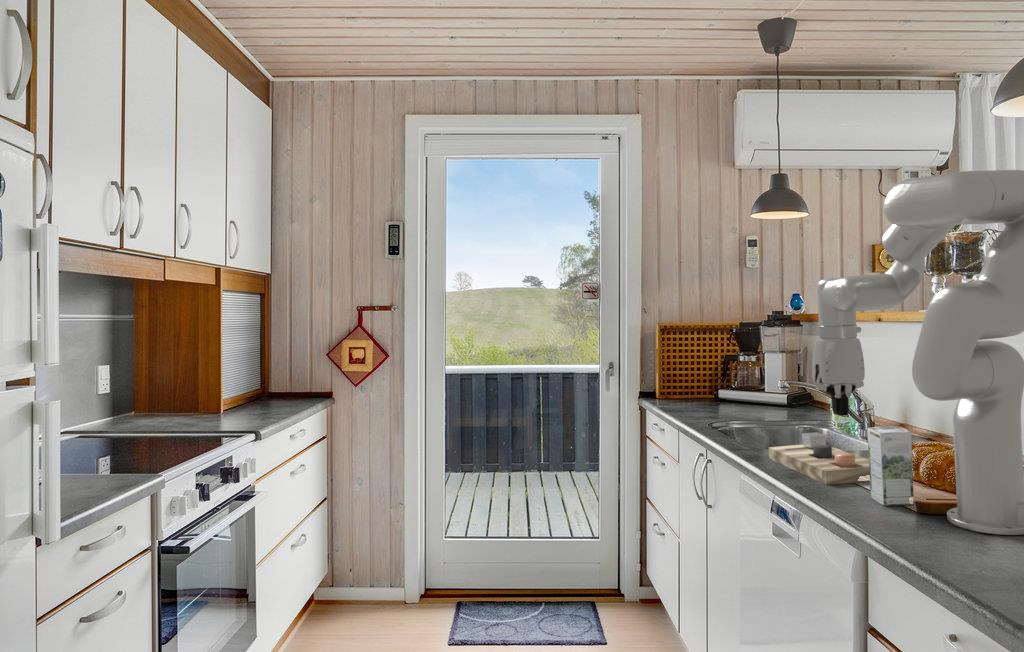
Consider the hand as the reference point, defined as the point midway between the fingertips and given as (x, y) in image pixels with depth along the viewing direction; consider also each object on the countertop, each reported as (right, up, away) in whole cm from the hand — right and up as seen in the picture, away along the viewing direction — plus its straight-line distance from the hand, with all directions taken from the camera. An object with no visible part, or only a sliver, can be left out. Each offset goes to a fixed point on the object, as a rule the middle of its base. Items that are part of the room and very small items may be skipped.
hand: (840, 414), depth 146 cm
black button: (0, -12, +9) cm, 15 cm away
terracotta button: (+1, -12, 0) cm, 12 cm away
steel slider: (+2, -10, +18) cm, 21 cm away
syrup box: (+1, -15, -19) cm, 24 cm away
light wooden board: (0, -14, +9) cm, 17 cm away
